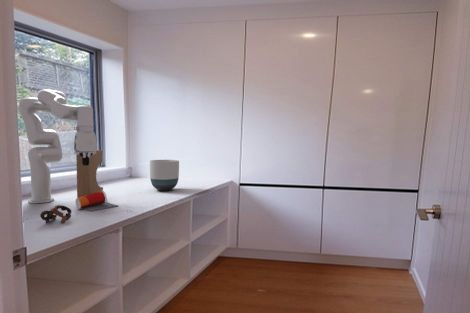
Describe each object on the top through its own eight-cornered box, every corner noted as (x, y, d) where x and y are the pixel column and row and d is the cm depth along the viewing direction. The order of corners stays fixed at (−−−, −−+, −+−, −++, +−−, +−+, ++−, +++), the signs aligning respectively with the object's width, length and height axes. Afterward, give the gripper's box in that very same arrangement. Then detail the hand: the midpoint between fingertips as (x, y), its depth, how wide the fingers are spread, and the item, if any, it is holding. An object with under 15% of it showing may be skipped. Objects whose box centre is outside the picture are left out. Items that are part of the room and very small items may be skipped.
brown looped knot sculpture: (60, 218, 139) (68, 204, 139) (68, 231, 135) (77, 215, 134) (32, 217, 129) (41, 202, 128) (41, 231, 124) (50, 214, 124)
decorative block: (89, 204, 167) (88, 151, 165) (76, 204, 167) (75, 150, 165) (103, 199, 182) (102, 150, 180) (91, 199, 182) (90, 149, 180)
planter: (151, 188, 224) (151, 159, 222) (179, 187, 227) (179, 159, 226) (148, 193, 204) (148, 161, 202) (179, 192, 207) (179, 161, 206)
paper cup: (74, 206, 158) (99, 199, 169) (81, 213, 155) (106, 205, 166) (74, 193, 156) (100, 187, 166) (82, 200, 152) (108, 193, 163)
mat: (78, 207, 160) (78, 206, 160) (105, 202, 172) (105, 201, 172) (91, 211, 152) (91, 210, 152) (118, 206, 163) (118, 205, 163)
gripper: (73, 129, 146) (74, 166, 147) (102, 130, 158) (103, 164, 159) (66, 129, 151) (67, 165, 152) (95, 130, 162) (96, 164, 163)
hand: (85, 165), depth 155 cm, fingers closed
